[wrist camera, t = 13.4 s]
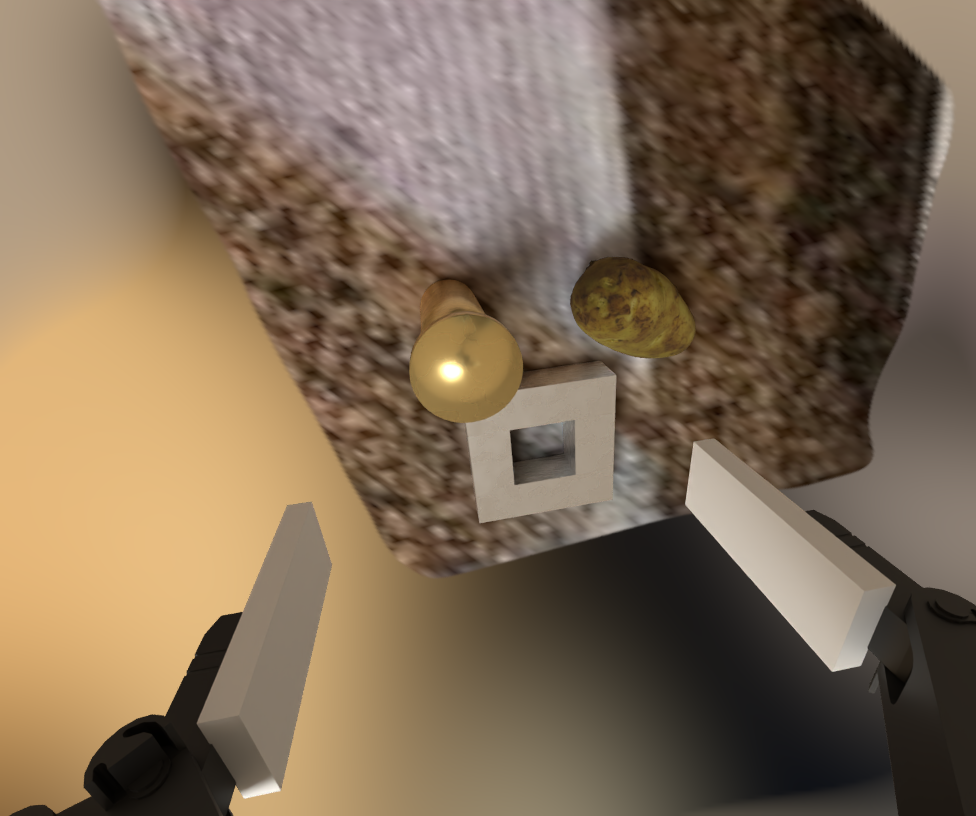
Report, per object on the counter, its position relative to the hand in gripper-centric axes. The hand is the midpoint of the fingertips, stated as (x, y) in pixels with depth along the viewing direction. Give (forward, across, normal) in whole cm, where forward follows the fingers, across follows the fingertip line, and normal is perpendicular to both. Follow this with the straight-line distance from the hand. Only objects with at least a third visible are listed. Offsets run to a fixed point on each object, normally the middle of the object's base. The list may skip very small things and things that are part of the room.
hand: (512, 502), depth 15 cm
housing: (+27, +7, -13) cm, 31 cm away
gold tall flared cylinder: (+27, 0, +1) cm, 27 cm away
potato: (+27, +15, -1) cm, 31 cm away
